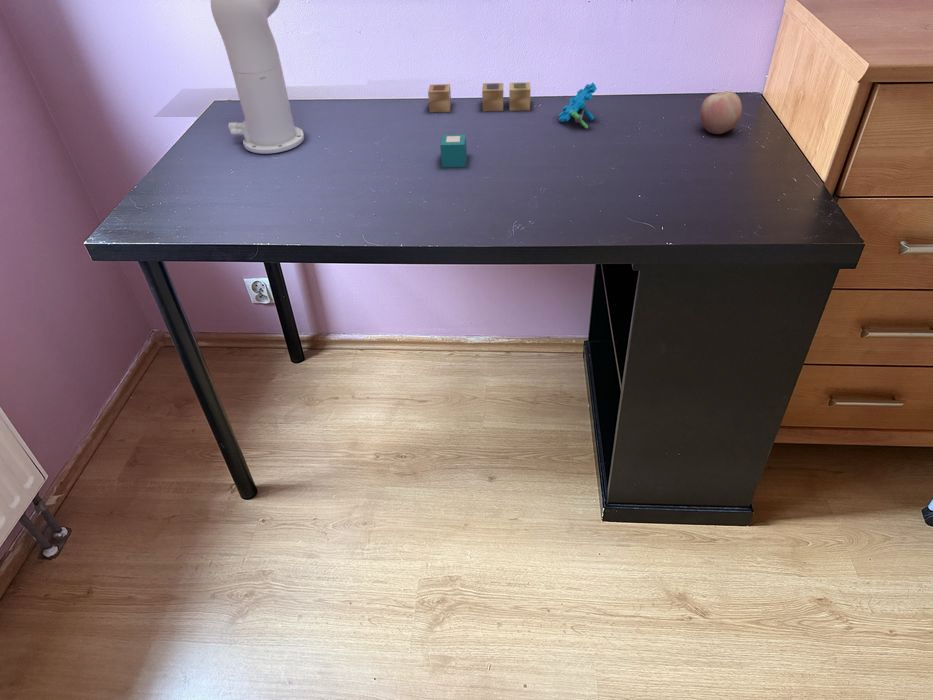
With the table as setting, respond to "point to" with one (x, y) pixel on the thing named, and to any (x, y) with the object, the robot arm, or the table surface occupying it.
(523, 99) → the beech block
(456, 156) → the teal block
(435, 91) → the beech block
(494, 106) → the beech block
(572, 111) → the blue flower
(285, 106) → the robot arm
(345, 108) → the table surface
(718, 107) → the apple
